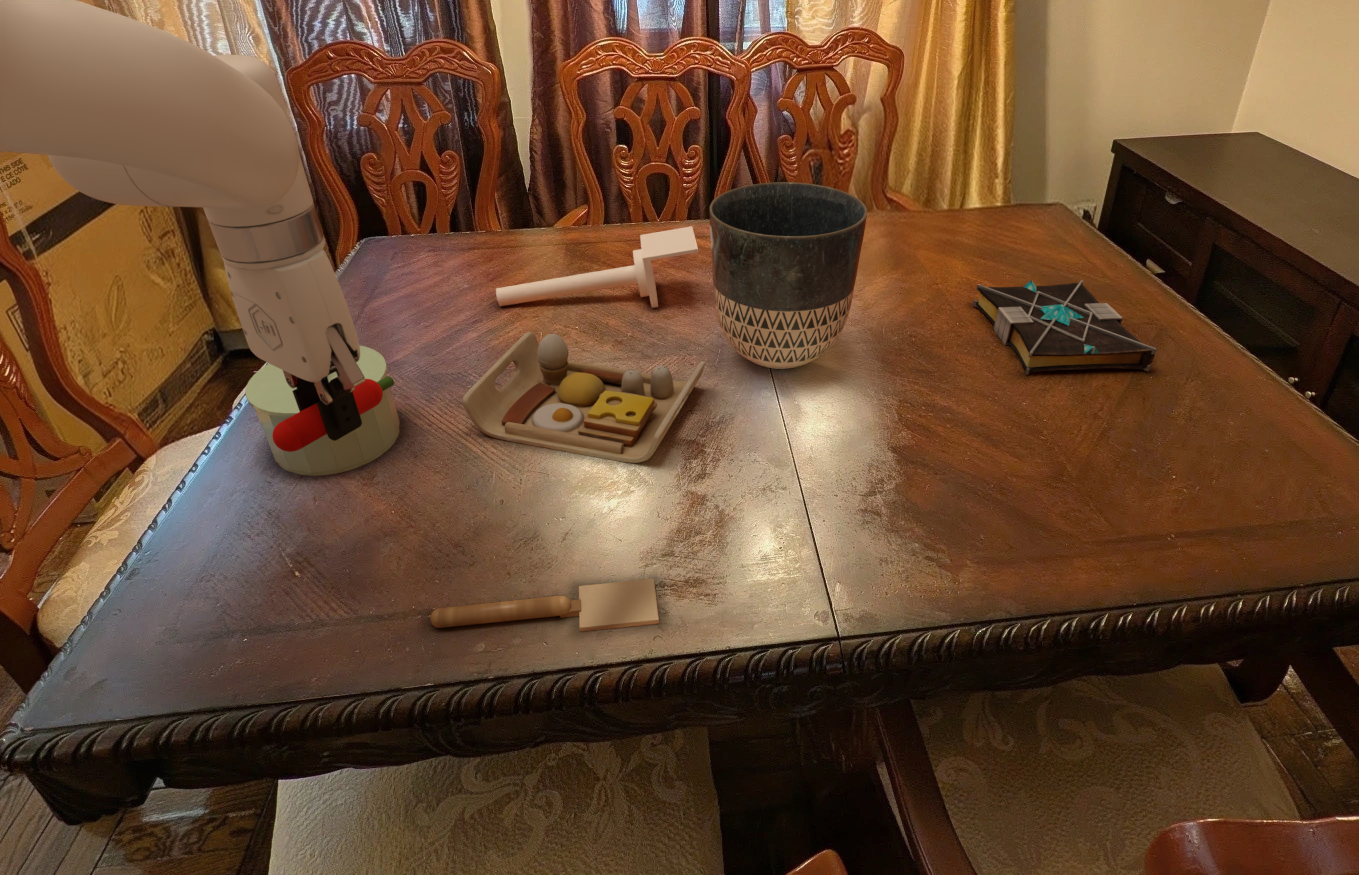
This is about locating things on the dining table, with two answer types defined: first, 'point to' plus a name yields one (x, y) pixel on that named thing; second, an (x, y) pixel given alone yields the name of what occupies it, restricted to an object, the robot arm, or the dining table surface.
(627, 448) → the toy food set
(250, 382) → the pot lid
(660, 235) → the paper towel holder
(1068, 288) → the book
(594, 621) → the spatula
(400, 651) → the dining table surface
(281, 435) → the chili pepper
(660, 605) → the dining table surface
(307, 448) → the pot
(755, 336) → the planter
